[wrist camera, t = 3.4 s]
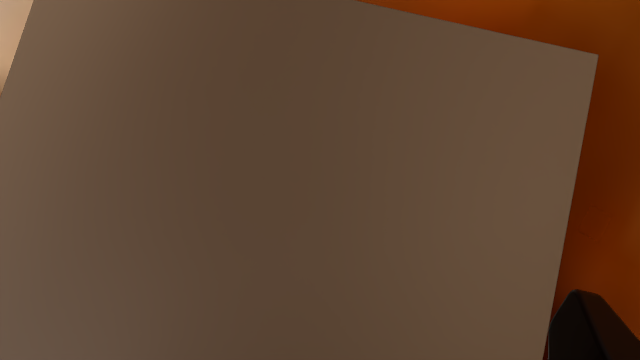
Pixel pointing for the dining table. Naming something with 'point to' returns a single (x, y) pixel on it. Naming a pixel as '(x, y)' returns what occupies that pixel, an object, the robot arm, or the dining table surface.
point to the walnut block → (282, 183)
